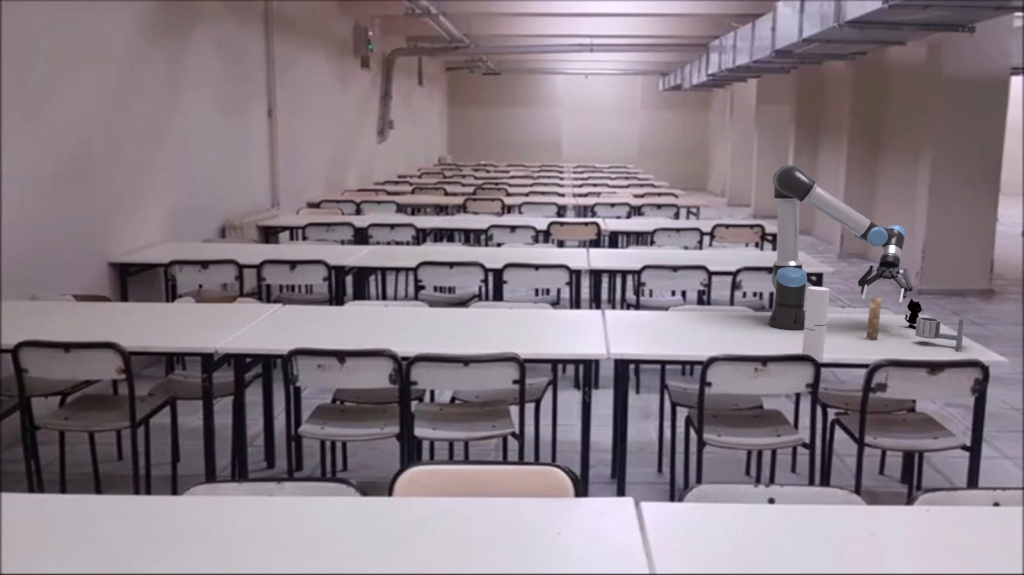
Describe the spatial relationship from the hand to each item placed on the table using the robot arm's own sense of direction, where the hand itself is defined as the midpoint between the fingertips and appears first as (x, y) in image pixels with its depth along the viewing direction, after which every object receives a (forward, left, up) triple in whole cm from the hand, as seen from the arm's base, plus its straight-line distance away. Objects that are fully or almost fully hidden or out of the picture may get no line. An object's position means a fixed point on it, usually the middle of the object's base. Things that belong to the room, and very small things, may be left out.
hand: (881, 302), depth 354 cm
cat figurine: (+10, +26, -14) cm, 31 cm away
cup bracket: (+22, -3, -14) cm, 26 cm away
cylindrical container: (-14, -54, -14) cm, 57 cm away
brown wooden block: (-1, -7, -14) cm, 15 cm away
